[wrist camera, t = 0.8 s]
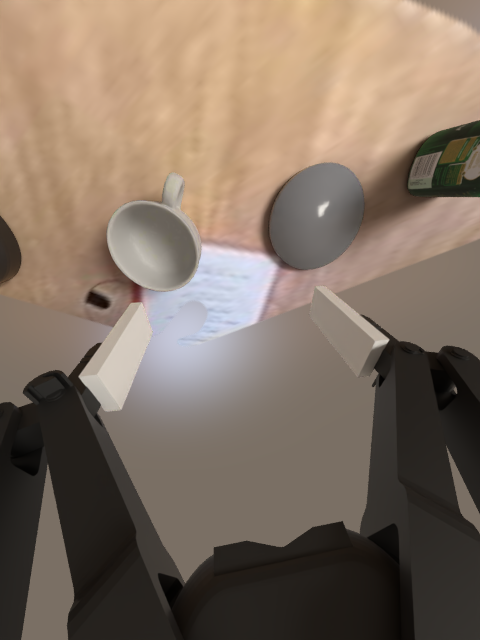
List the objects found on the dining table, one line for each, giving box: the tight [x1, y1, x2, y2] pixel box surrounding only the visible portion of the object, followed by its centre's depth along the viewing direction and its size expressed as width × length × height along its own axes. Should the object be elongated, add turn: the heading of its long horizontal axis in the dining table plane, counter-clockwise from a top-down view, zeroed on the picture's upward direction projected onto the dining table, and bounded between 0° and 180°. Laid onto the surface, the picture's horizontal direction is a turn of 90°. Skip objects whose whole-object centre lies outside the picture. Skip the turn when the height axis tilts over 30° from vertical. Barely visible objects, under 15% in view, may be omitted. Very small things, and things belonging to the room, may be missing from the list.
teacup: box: [107, 173, 201, 292], centre depth 26 cm, size 14×11×8 cm
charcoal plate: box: [269, 163, 364, 270], centre depth 30 cm, size 15×15×2 cm
